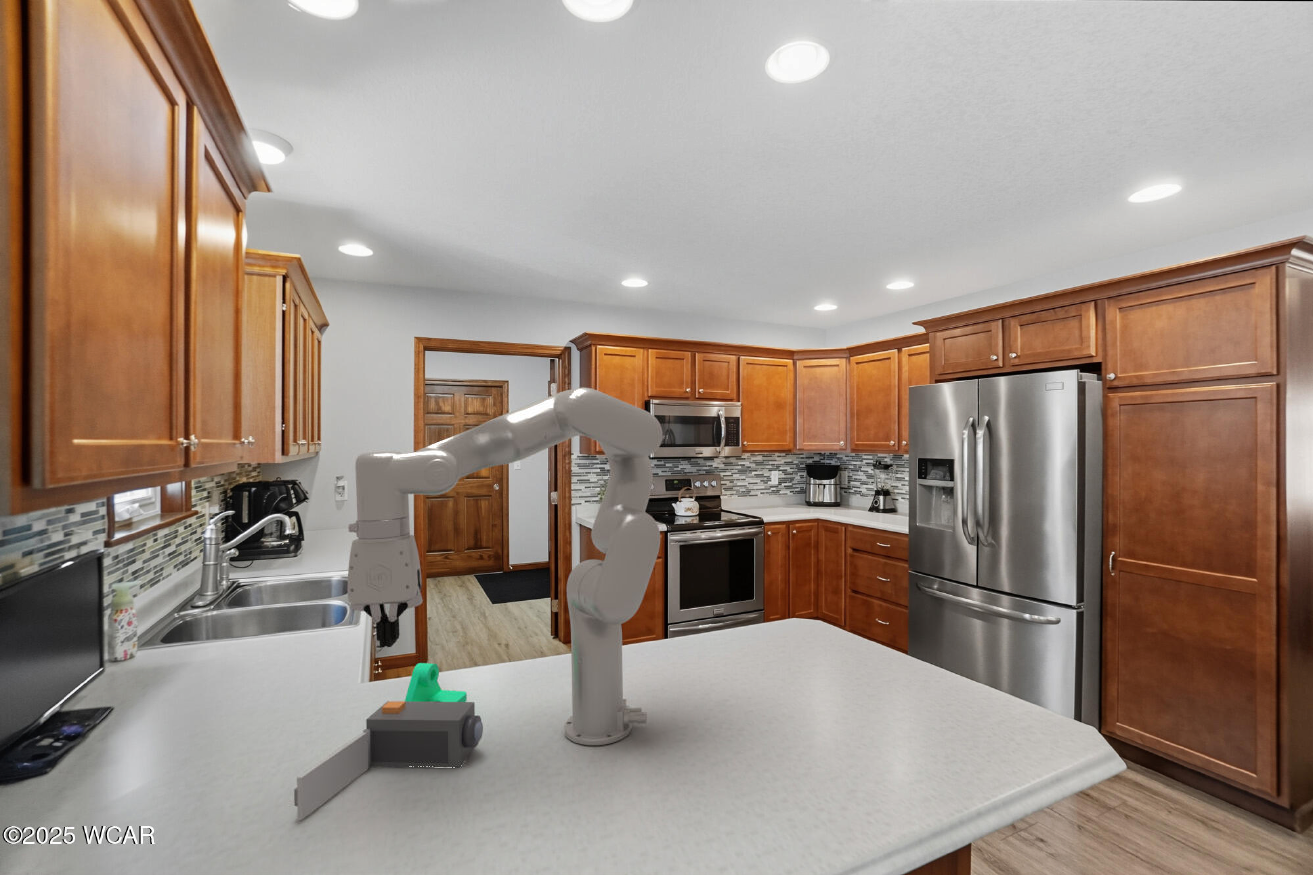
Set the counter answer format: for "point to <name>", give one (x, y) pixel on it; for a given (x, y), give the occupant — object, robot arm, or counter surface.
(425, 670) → the camera mount
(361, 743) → the door
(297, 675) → the counter surface
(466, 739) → the camera body
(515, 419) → the robot arm
